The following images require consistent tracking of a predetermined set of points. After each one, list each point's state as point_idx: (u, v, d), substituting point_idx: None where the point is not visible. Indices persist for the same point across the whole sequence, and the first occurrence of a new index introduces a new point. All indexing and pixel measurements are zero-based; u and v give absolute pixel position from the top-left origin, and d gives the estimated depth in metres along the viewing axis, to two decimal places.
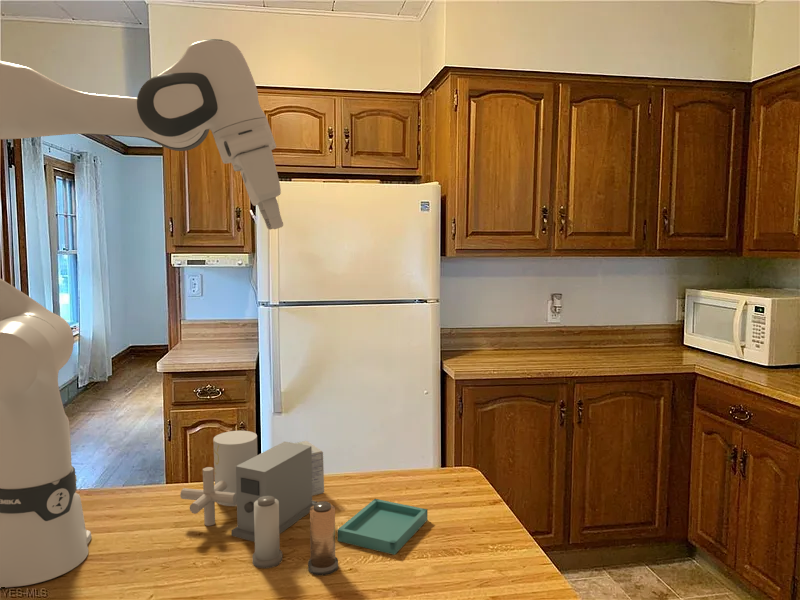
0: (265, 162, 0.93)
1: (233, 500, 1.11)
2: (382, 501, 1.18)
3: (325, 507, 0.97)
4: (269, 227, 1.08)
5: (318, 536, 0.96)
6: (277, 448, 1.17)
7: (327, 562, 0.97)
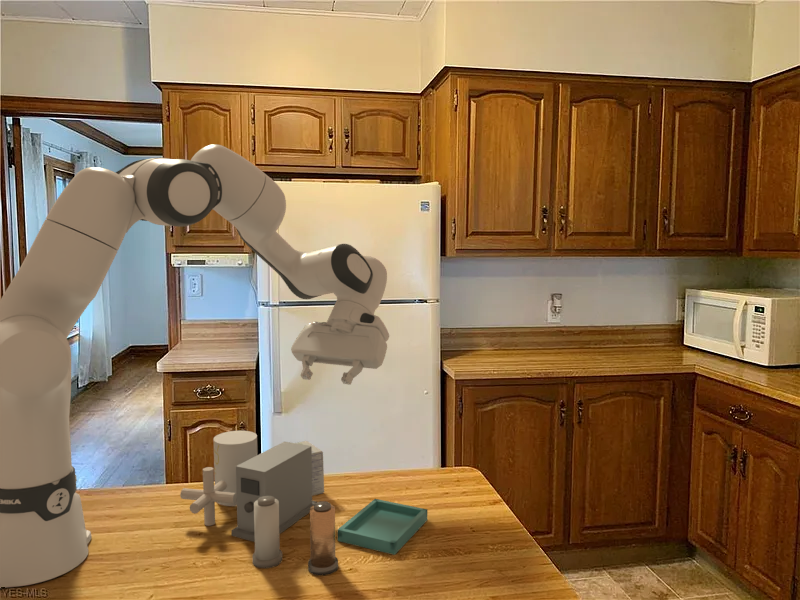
0: (385, 346, 1.29)
1: (233, 500, 1.11)
2: (382, 501, 1.18)
3: (325, 507, 0.97)
4: (307, 375, 1.28)
5: (318, 536, 0.96)
6: (277, 448, 1.17)
7: (327, 562, 0.97)
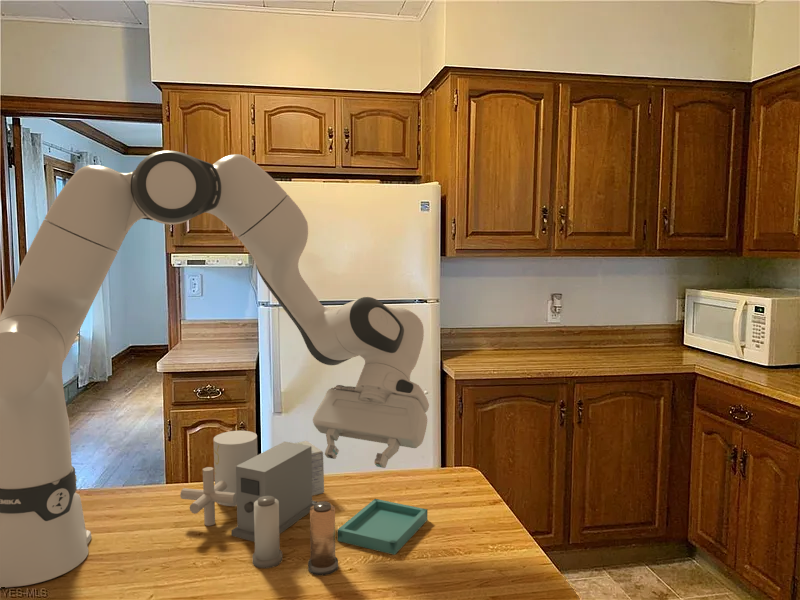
0: (425, 420, 1.08)
1: (233, 500, 1.11)
2: (382, 501, 1.18)
3: (325, 507, 0.97)
4: (332, 453, 1.08)
5: (318, 536, 0.96)
6: (277, 448, 1.17)
7: (327, 562, 0.97)
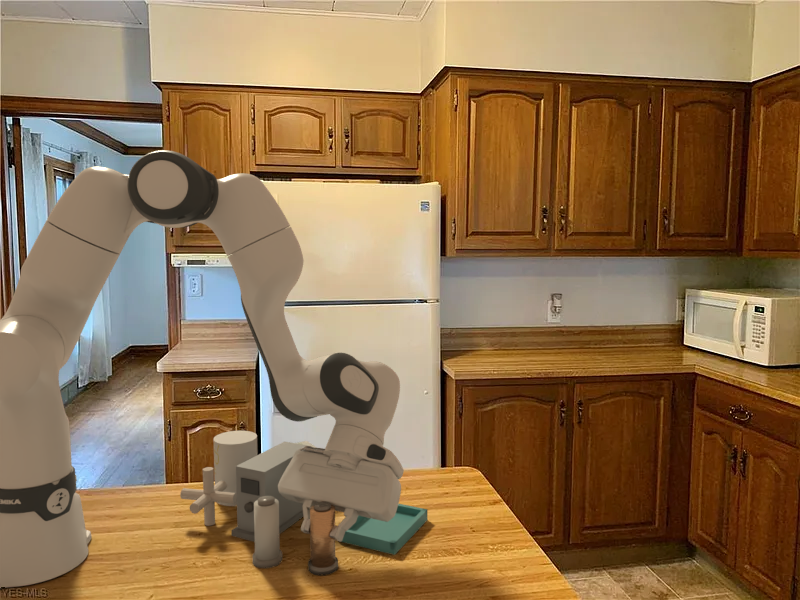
0: (398, 490, 1.00)
1: (233, 500, 1.11)
2: None
3: (325, 507, 0.97)
4: (309, 529, 0.98)
5: (318, 536, 0.96)
6: (277, 448, 1.17)
7: (327, 562, 0.97)
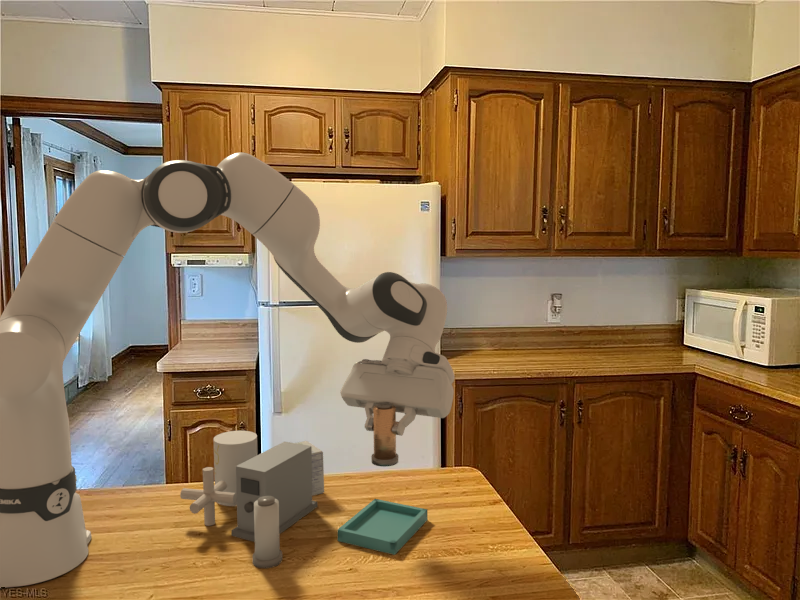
0: (452, 391, 1.10)
1: (233, 500, 1.11)
2: (382, 501, 1.18)
3: (387, 405, 1.07)
4: (372, 426, 1.09)
5: (382, 431, 1.07)
6: (277, 448, 1.17)
7: (389, 455, 1.08)
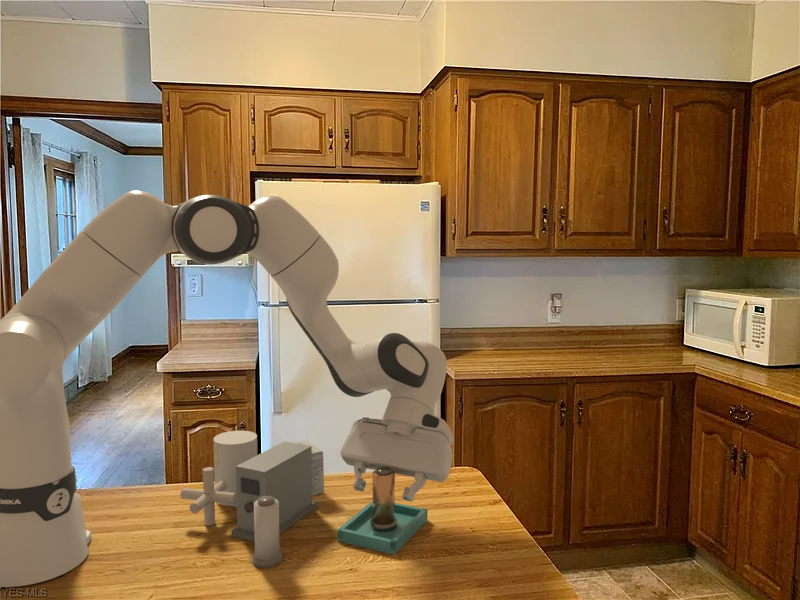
0: (450, 454, 1.12)
1: (233, 500, 1.11)
2: None
3: (386, 471, 1.09)
4: (361, 486, 1.11)
5: (381, 497, 1.08)
6: (277, 448, 1.17)
7: (388, 520, 1.09)
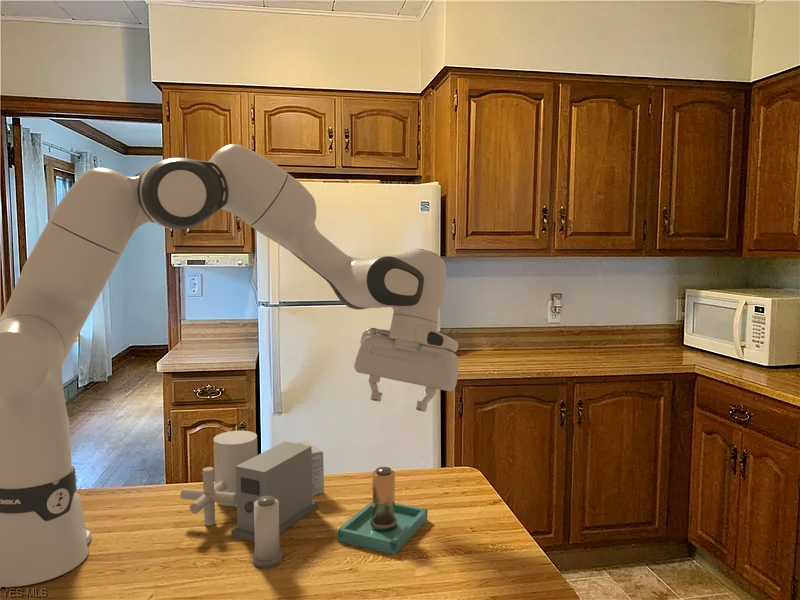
0: (457, 365, 1.19)
1: (233, 500, 1.11)
2: None
3: (386, 471, 1.09)
4: (377, 399, 1.22)
5: (381, 497, 1.08)
6: (277, 448, 1.17)
7: (388, 520, 1.09)
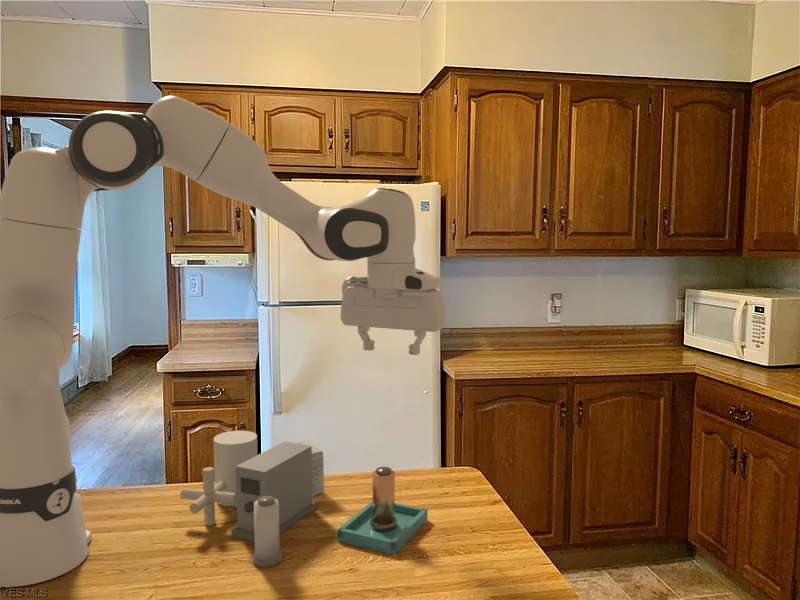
0: (441, 302, 1.15)
1: (233, 500, 1.11)
2: None
3: (386, 471, 1.09)
4: (370, 348, 1.20)
5: (381, 497, 1.08)
6: (277, 448, 1.17)
7: (388, 520, 1.09)
